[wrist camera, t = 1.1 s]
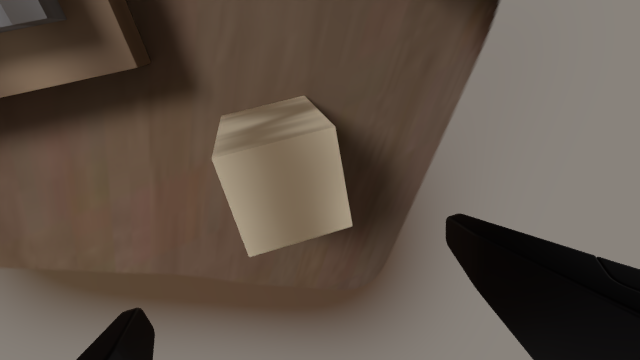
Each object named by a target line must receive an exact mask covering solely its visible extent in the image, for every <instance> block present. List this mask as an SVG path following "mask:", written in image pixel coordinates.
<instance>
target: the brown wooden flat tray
mask: <svg viewBox="0 0 640 360" xmlns="http://www.w3.org/2000/svg"><path fill="white" fill-rule="evenodd" d="M150 63H151V61H150V58H149V56H148V54H147V51H146V49H145V46H144V44H143V42H142V39H141V37H140V34H139V32H138V29H137V27H136V25H135V22H134V20H133V17H132V15H131V12H130V10H129V8H128V5H127V3H126V0H0V98H2V97H6V96H11V95H15V94H20V93H24V92H29V91H34V90H38V89H43V88H47V87H52V86H56V85H61V84H65V83H70V82H75V81H79V80H84V79H88V78H93V77H97V76H102V75H106V74H111V73H116V72H120V71H125V70H129V69H134V68H138V67H141V66H144V65H147V64H150Z"/></svg>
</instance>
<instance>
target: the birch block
mask: <svg viewBox="0 0 640 360" xmlns="http://www.w3.org/2000/svg"><path fill="white" fill-rule="evenodd" d="M212 161H213V163H214V166H215V169H216V171H217V174H218V177H219V179H220V182H221V184H222V187H223V190H224V192H225V195H226V198H227V200H228V203H229V206H230V208H231V211H232V213H233V216H234V219H235V221H236V224H237V227H238V229H239V232H240V234H241V237H242V240H243V242H244V245H245V248H246V250H247V253H248V255H249V257H252V256H255V255H258V254H262V253H265V252H268V251H272V250H275V249H279V248H282V247H285V246H289V245H292V244H295V243H299V242H302V241H305V240H309V239H312V238H315V237H319V236H322V235H325V234H329V233H332V232H335V231H339V230H342V229H345V228H349V227H352V220H351V214H350V208H349V203H348V197H347V191H346V185H345V180H344V174H343V168H342V162H341V157H340V151H339V145H338V139H337V134H336V128H335V126H334V125H333V124H332V123H331V122H330V121H329V120H328V119H327V118H326V117H325V116H324V115H323V114H322V113H321V112H320V111H319V110H318V109H317V108H316V107H315V106H314V105H313V104H312V103H311V102H310V101H309V100H308V99H307V98H306V97H305V96H301V97H297V98H293V99H289V100H285V101H281V102H277V103H272V104H268V105H264V106H260V107H256V108H252V109H248V110H244V111H240V112H236V113H231V114H227V115H223V116H221V120H220V124H219V129H218V133H217V137H216V142H215V146H214V151H213V155H212Z"/></svg>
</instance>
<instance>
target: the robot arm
mask: <svg viewBox="0 0 640 360" xmlns="http://www.w3.org/2000/svg"><path fill="white" fill-rule="evenodd" d="M446 241H447V244H448V246H449V248H450V249H451V251H452V253H453V254H454V256H455V257H456V259H457V260H458V262H459V263H460V265H461V266H462V268H463V270H464V271H465V273H466V274H467V276H468V277H469V279H470V280H471V282H472V283H473V285H474V286H475V288H476V289H477V290H478V291H479V293H480V294H481V295H482V297H483V298H484V299H485V300H486V302H487V303H488V304H489V305H490V307H491V308H492V309H493V310H494V312H495V313H496V314H497V315H498V316H499V318H500V319H501V320H502V321H503V323H504V324H505V325H506V326H507V328H508V329H509V330H510V331H511V333H512V334H513V335H514V336H515V338H516V339H517V340H518V341H519V342H520V344H521V345H522V346H523V347H524V349H525V350H526V351H527V352H528V354H529V355H530V356H531V357H532V359H534V360H640V269H637V268H633V267H630V266H627V265H624V264H620V263H617V262H614V261H610V260H607V259H604V258H601V257H597V258H596V257H595V256H594V255H591V254H588V253H585V252H582V251H578V250H575V249H572V248H569V247H566V246H563V245H559V244H556V243H553V242H550V241H547V240H544V239H540V238H537V237H534V236H531V235H528V234H524V233H521V232H518V231H515V230H512V229H508V228H505V227H502V226H499V225H496V224H492V223H489V222H486V221H483V220H480V219H476V218H474V217H470V216H467V215H464V214H455V215H452V216H449V217H448V218H447V219H446ZM154 338H155V333H154V329H153V326H152V325H151V323H150V321H149V320H148V318H147V316H146V315H145V313H144V312H143V310H142V309H141V308H134V309H131V310H127V311H125V312H122V313H121V314H120V315H119V316H118V317H117V318H116V319H115V320H114V321H113V322H112V323H111V324H110V325H109V327H108V328H107V329H106V330H105V331H104V332H103V333H102V334H101V335H100V336H99V337H98V338H97V339H96V340H95V341H94V342H93V343H92V344H91V345H90V346H89V347H88V348H87V349H86V350H85V351H84V352H83V353H82V354H81V355H80V356H79V357H78V359H77V360H153V349H154Z"/></svg>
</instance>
